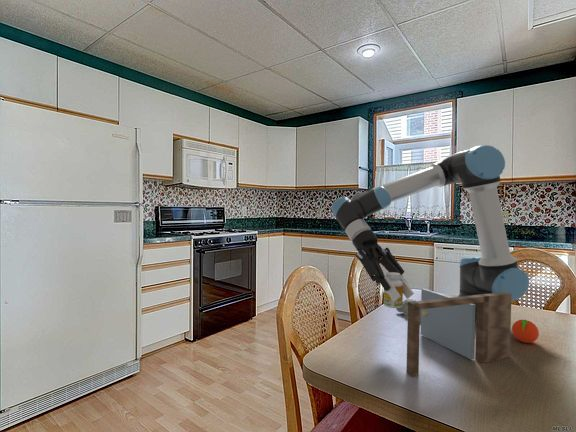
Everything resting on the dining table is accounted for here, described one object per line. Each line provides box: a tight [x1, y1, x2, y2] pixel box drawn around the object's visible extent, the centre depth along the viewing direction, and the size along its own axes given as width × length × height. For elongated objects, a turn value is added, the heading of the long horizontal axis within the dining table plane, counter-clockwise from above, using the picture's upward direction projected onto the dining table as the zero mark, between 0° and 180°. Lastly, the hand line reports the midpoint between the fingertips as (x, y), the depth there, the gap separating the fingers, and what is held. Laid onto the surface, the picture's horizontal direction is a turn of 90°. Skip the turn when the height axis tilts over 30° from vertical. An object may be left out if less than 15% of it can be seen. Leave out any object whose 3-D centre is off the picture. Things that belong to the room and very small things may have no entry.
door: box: [420, 288, 476, 360], centre depth 98 cm, size 19×3×15 cm, turn 20°
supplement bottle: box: [383, 272, 404, 309], centre depth 96 cm, size 5×5×10 cm
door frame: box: [405, 292, 512, 378], centre depth 87 cm, size 34×2×18 cm, turn 110°
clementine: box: [511, 319, 540, 344], centre depth 102 cm, size 8×7×7 cm
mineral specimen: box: [395, 298, 421, 322], centre depth 125 cm, size 16×7×7 cm, turn 25°
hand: (403, 297), depth 93 cm, fingers closed on supplement bottle, 5 cm apart
